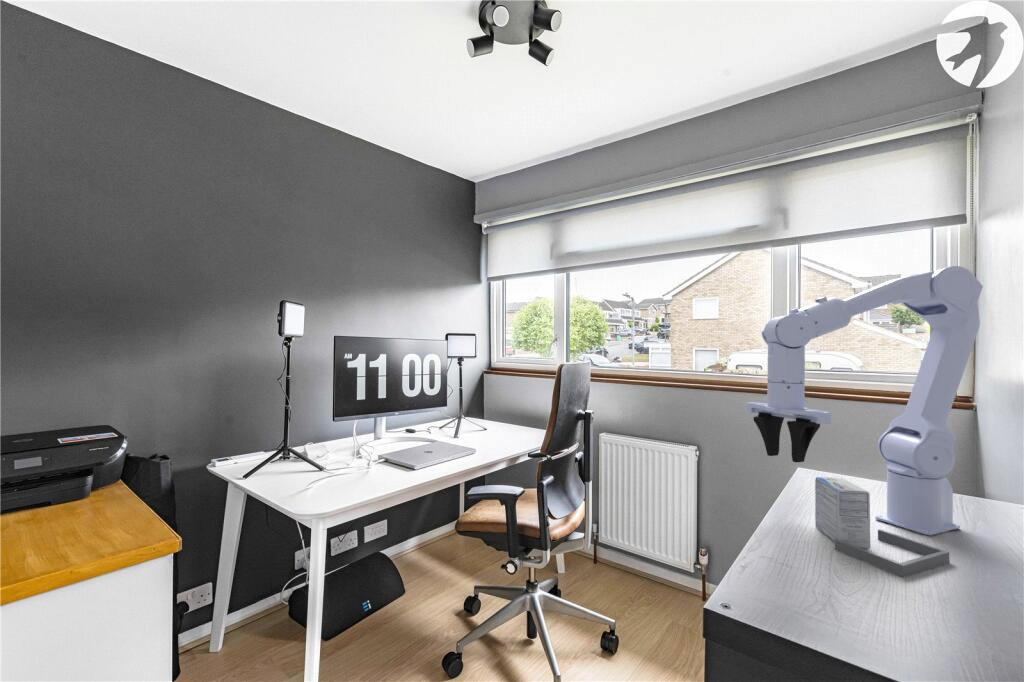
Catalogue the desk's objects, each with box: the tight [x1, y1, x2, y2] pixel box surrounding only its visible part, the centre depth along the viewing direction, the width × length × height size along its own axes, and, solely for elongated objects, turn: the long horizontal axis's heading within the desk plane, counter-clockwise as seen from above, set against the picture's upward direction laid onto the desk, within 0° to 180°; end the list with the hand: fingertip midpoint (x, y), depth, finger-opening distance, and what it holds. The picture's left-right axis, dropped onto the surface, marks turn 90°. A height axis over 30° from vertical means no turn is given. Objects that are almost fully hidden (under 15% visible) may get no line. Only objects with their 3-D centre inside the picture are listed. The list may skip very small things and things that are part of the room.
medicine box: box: [814, 476, 871, 550], centre depth 72 cm, size 8×4×9 cm, turn 168°
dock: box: [834, 528, 950, 578], centre depth 66 cm, size 11×9×2 cm
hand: (785, 458), depth 81 cm, fingers open, 4 cm apart
